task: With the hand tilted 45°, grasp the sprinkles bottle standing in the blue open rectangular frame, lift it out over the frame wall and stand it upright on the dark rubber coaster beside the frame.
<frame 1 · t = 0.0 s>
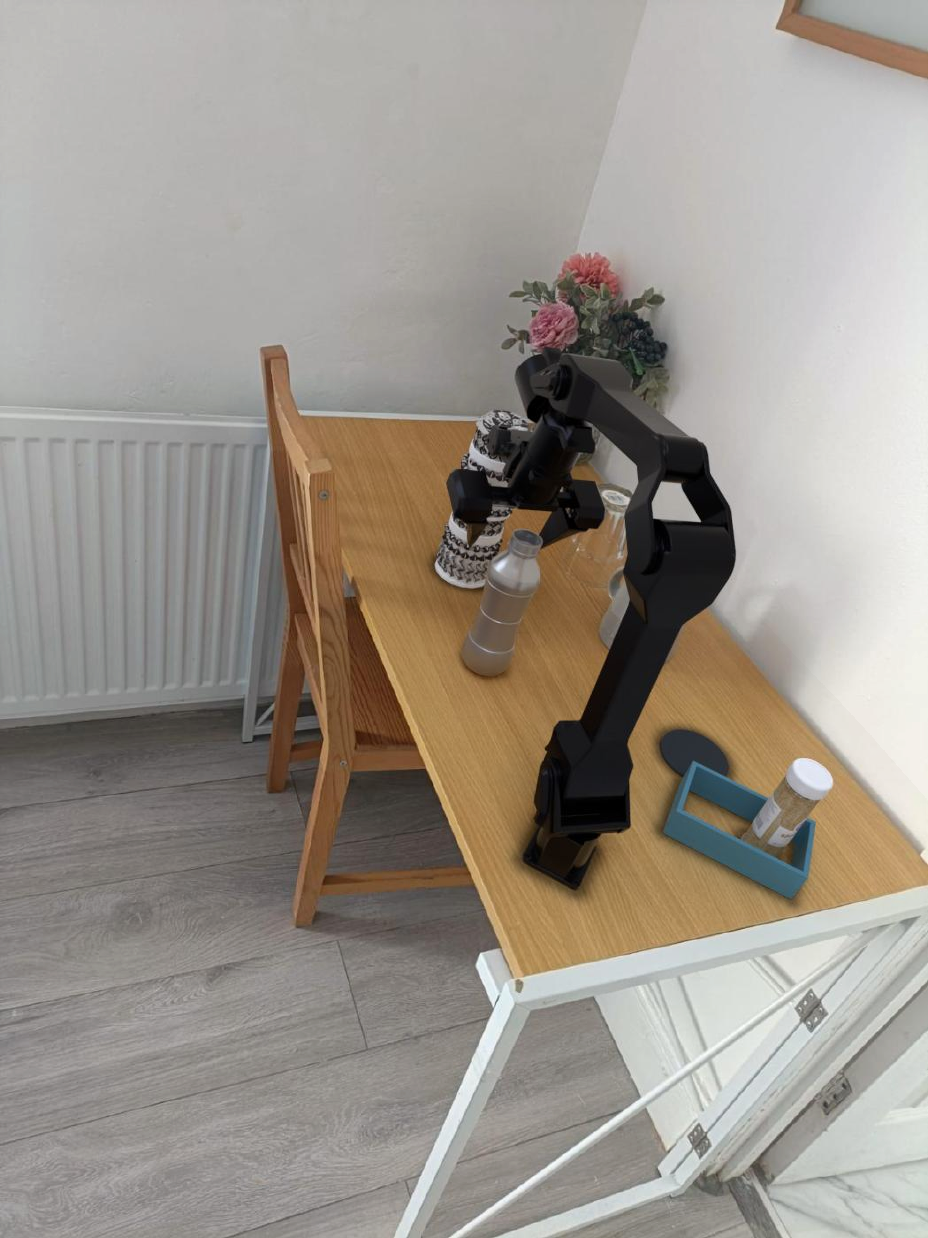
hand: (503, 545, 109), 15 cm above the table, tool pointing down, fingers open, 9 cm apart
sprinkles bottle: (756, 850, 101), resting in blue open rectangular frame
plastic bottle: (481, 667, 114), on the table
white patterned cylinder: (462, 572, 130), on the table
blue open rectangular frame: (732, 838, 101), on the table
coaster: (693, 757, 110), on the table
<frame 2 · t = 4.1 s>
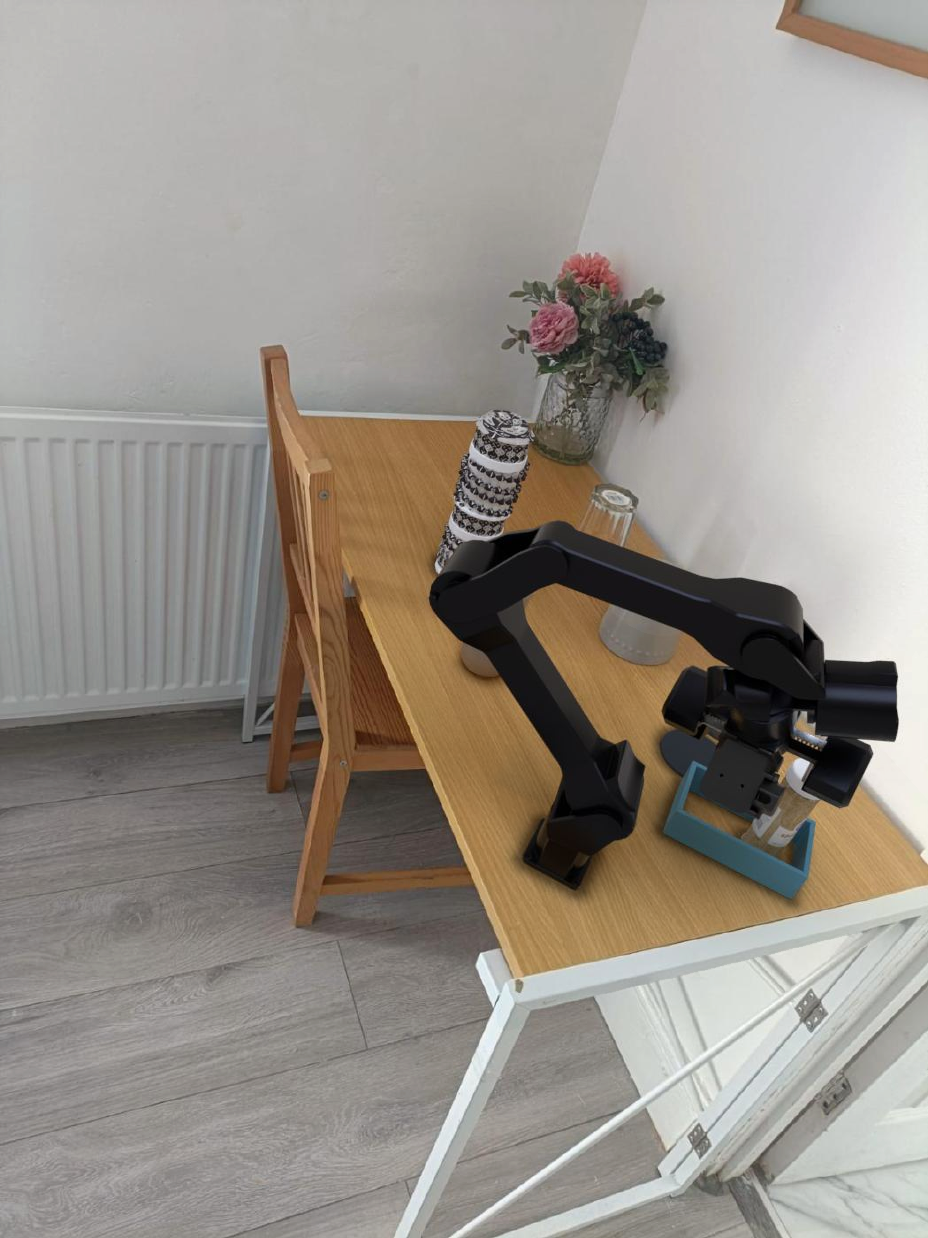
hand: (762, 757, 91), 14 cm above the table, tool tilted 40°, fingers open, 9 cm apart
nothing on the table moved.
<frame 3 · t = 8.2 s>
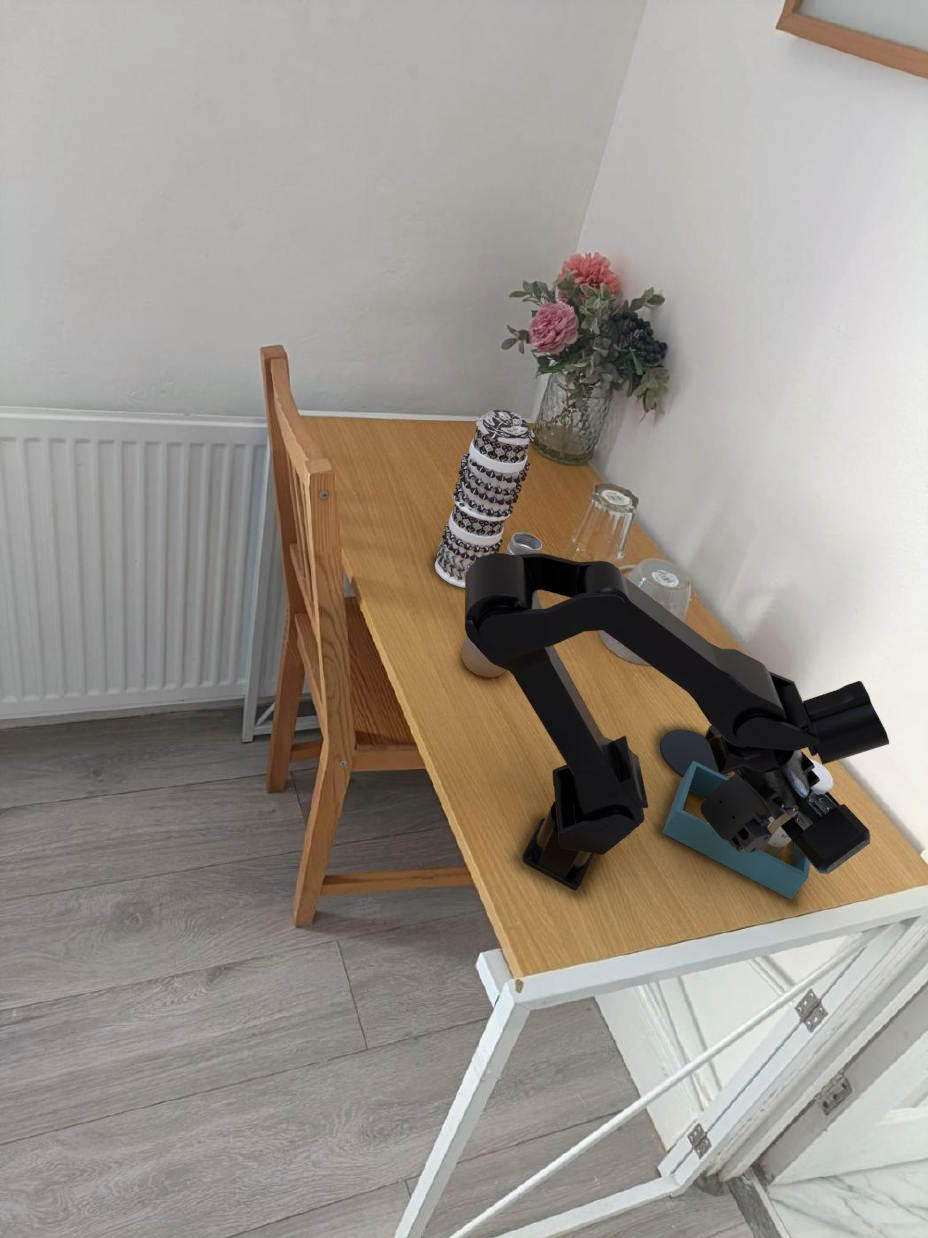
hand: (794, 807, 97), 7 cm above the table, tool tilted 45°, fingers closed on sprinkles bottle, 4 cm apart
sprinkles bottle: (756, 850, 101), resting in blue open rectangular frame, touching gripper
everything else where it was.
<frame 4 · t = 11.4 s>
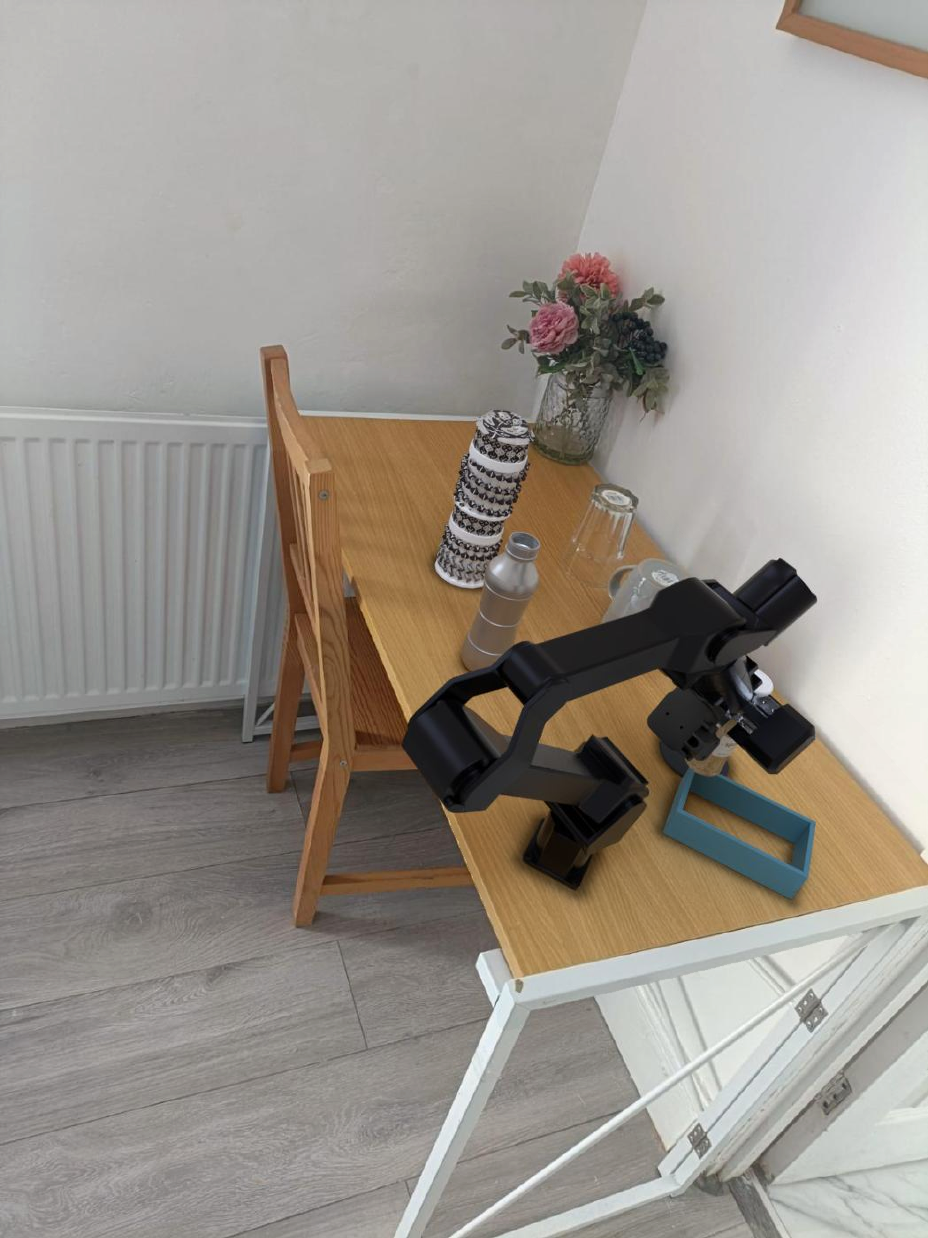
hand: (735, 716, 97), 13 cm above the table, tool tilted 45°, fingers closed on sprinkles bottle, 4 cm apart
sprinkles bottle: (700, 764, 100), point 6 cm above the table, touching gripper
everything else where it was.
when the fingers open (7 cm above the table, at t = 14.7 s): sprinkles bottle stays where it is, resting on coaster.
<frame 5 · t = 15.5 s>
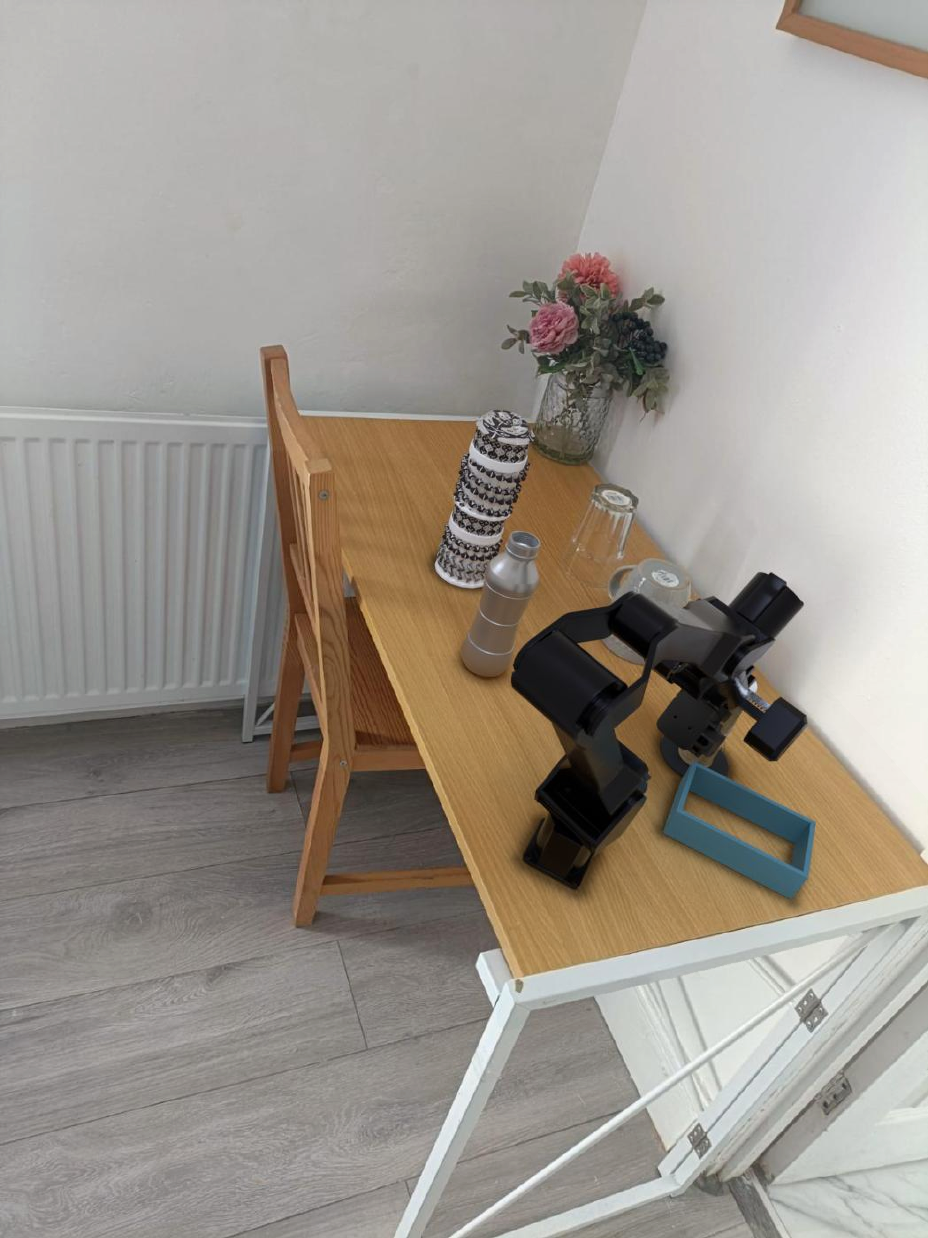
hand: (727, 707, 106), 8 cm above the table, tool tilted 45°, fingers open, 9 cm apart
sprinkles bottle: (693, 757, 110), resting on coaster
everything else where it was.
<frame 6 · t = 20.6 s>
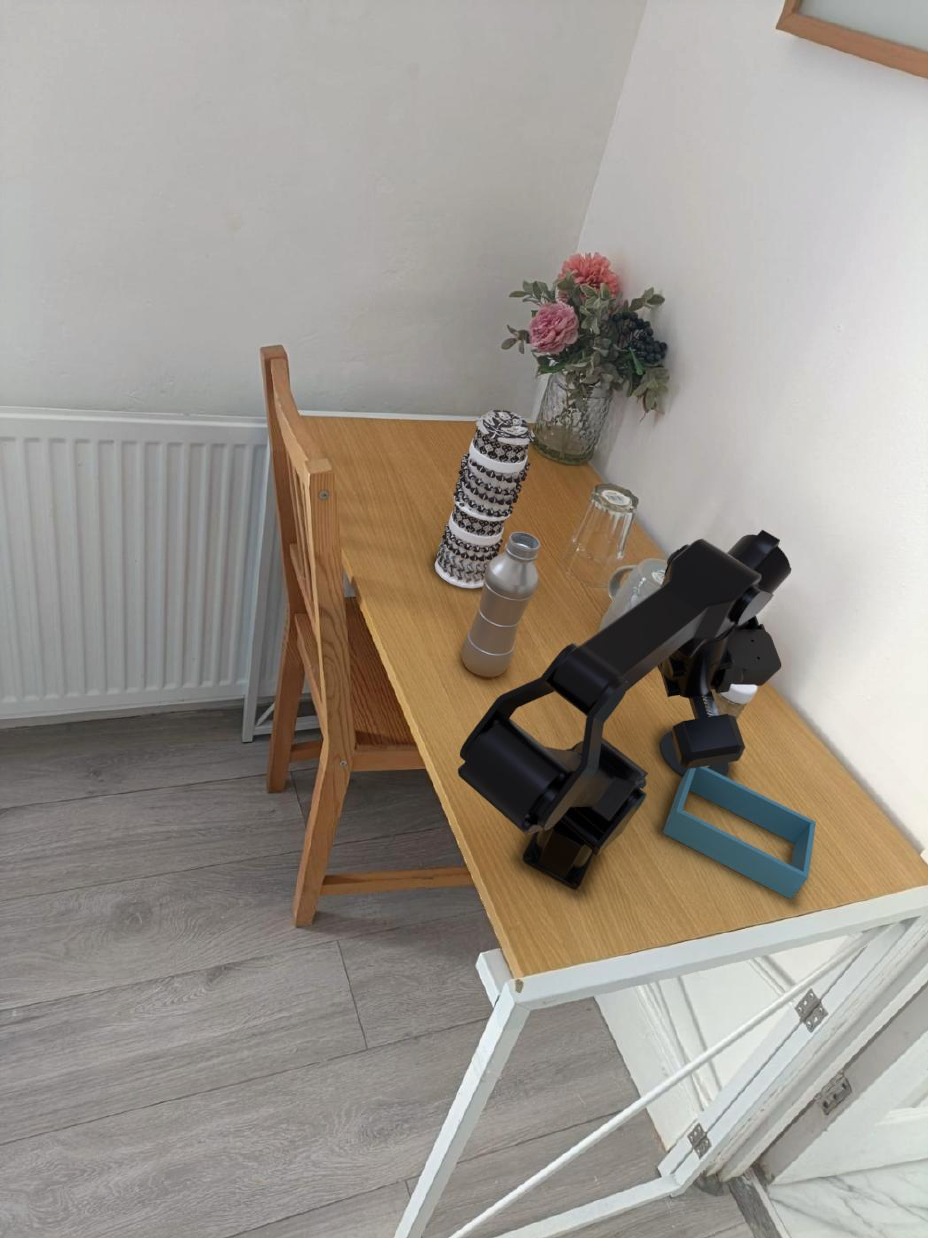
hand: (678, 712, 97), 12 cm above the table, tool tilted 30°, fingers open, 9 cm apart
nothing on the table moved.
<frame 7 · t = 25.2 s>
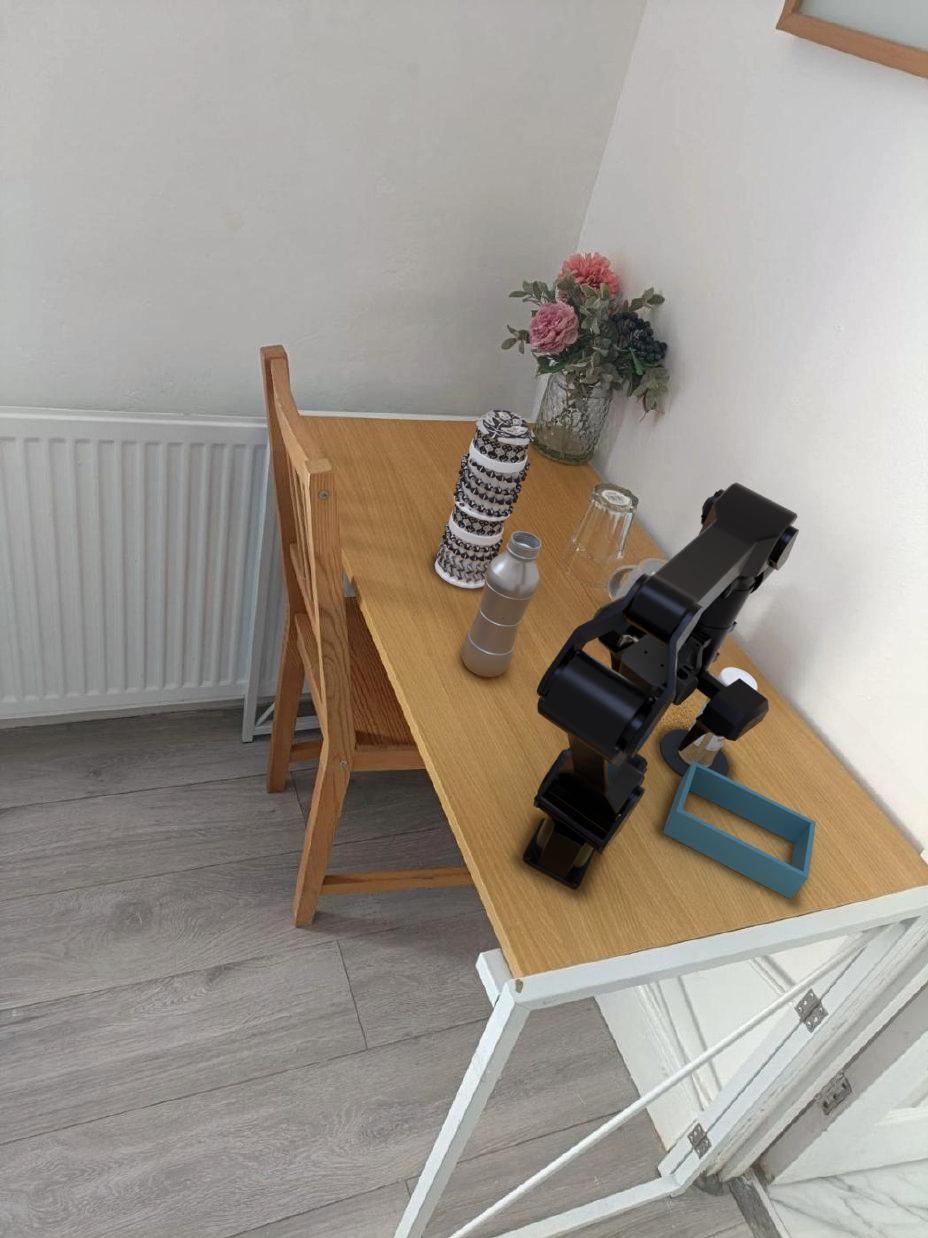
hand: (647, 720, 93), 13 cm above the table, tool pointing down, fingers open, 9 cm apart
nothing on the table moved.
at the end: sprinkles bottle 0.3 cm from the target spot, resting on coaster; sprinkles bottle tilted 0°; the gripper is holding nothing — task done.
